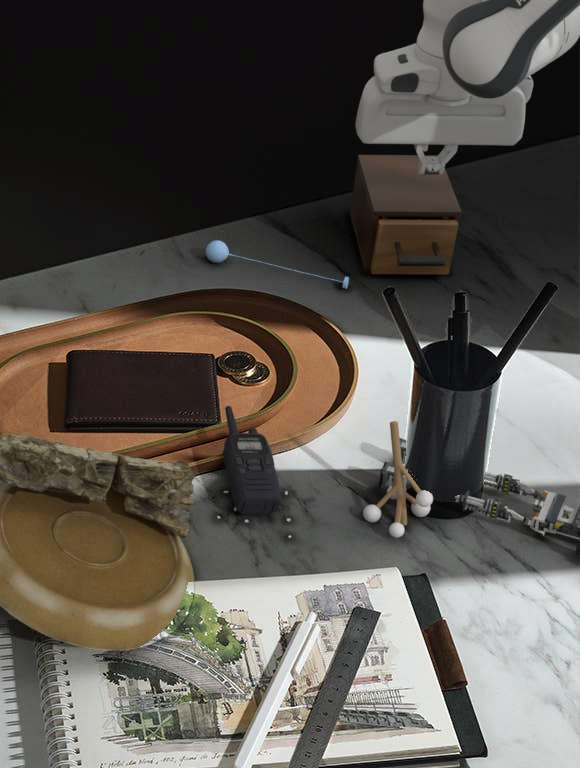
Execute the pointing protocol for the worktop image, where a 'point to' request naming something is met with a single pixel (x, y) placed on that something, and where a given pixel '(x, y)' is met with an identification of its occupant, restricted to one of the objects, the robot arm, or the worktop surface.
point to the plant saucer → (88, 569)
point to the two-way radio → (250, 470)
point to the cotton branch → (400, 492)
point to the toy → (545, 514)
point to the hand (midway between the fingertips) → (430, 172)
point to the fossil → (101, 478)
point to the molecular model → (220, 252)
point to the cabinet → (396, 196)
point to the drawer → (414, 245)
